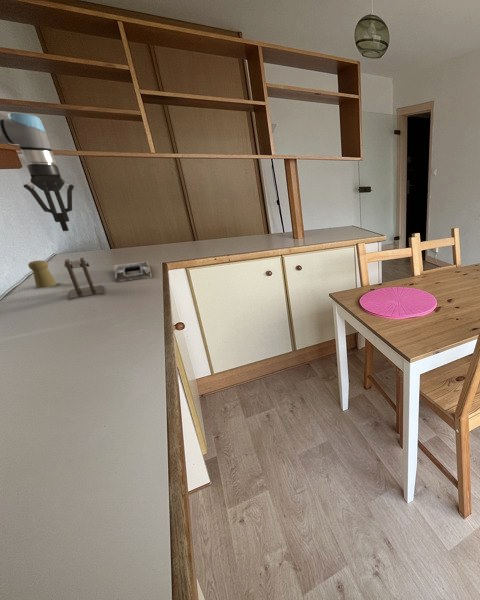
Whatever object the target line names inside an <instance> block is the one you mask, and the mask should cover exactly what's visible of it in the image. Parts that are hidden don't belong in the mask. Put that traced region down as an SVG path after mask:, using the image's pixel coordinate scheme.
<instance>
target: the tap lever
mask: <svg viewBox="0 0 480 600" xmlns="http://www.w3.org/2000/svg"><path fill="white" fill-rule="evenodd" d="M69 261H70V263H71V266H72V269H78V268H79V269H80V268H82V265H81V262H80V260H69ZM87 264H88V265H87V268H89V267H90V264H89V262H88V261H87Z"/></svg>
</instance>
